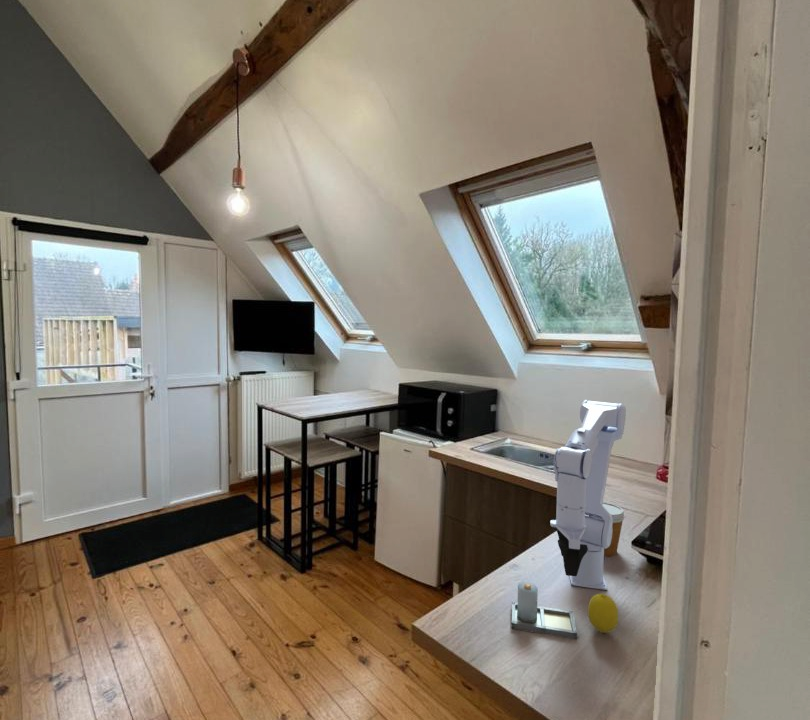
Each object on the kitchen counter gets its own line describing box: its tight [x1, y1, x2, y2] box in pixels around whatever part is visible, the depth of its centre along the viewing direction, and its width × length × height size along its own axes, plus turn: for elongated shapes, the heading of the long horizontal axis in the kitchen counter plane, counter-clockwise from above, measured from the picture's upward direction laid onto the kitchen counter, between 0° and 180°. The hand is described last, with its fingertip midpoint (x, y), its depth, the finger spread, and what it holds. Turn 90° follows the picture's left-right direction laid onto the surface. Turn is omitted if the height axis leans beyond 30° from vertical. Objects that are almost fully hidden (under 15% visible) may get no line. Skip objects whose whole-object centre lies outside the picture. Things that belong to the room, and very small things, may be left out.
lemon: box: [587, 593, 619, 634], centre depth 87 cm, size 6×6×8 cm
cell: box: [516, 581, 539, 624], centre depth 91 cm, size 4×4×7 cm
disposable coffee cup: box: [588, 501, 626, 557], centre depth 119 cm, size 10×10×12 cm
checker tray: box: [511, 602, 578, 640], centre depth 90 cm, size 7×12×1 cm, turn 76°
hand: (568, 565), depth 93 cm, fingers open, 7 cm apart
